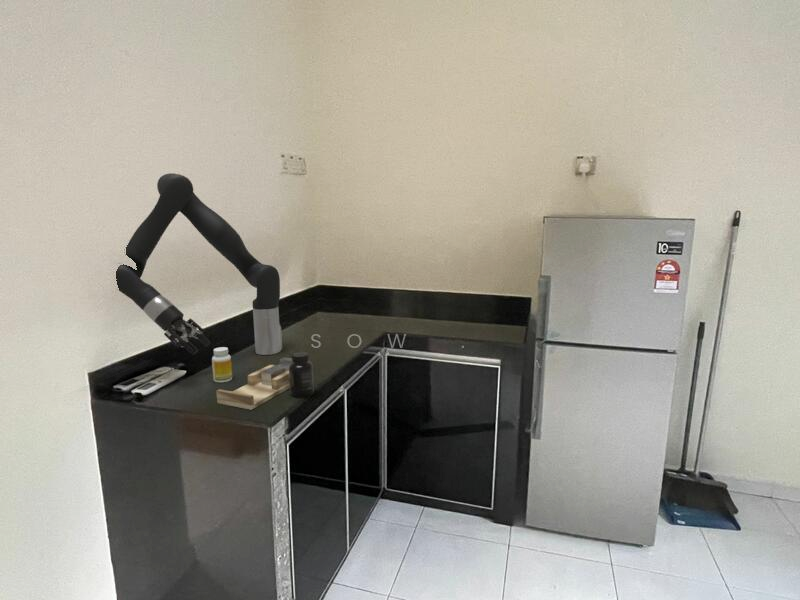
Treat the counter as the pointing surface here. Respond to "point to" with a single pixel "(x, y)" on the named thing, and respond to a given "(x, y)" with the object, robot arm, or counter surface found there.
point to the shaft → (276, 371)
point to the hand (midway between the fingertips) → (202, 348)
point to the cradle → (254, 391)
